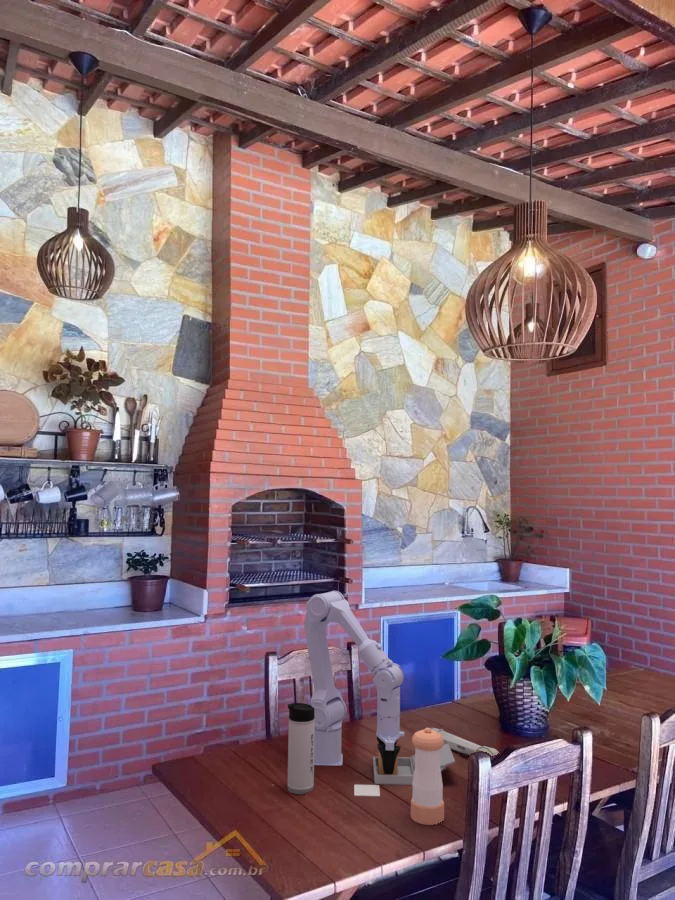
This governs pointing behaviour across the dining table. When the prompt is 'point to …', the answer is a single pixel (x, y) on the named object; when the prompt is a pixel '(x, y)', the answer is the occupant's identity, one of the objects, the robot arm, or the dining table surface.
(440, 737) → the pepper shaker
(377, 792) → the mat
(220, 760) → the dining table surface
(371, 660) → the robot arm
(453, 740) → the white elongated piece
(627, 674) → the dining table surface
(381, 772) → the block
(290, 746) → the travel mug
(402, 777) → the case
